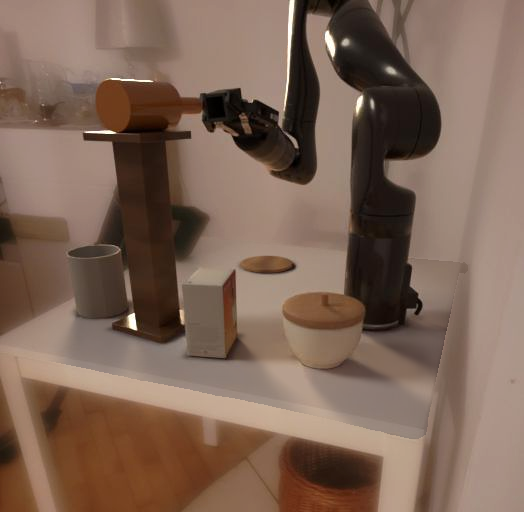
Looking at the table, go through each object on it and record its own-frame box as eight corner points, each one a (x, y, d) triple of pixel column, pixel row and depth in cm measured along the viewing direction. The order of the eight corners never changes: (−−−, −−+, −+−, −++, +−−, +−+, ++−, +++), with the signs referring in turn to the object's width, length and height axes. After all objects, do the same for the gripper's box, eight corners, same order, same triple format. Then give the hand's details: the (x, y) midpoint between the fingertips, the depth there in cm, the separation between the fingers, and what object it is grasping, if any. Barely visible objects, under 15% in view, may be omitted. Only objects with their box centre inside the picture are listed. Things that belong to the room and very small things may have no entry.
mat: (288, 257, 112) (288, 254, 111) (296, 271, 102) (296, 269, 102) (240, 259, 111) (239, 256, 110) (243, 273, 101) (243, 271, 101)
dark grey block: (222, 116, 81) (218, 89, 79) (244, 115, 80) (240, 87, 78) (206, 122, 77) (202, 94, 75) (228, 121, 76) (224, 92, 73)
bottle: (182, 127, 76) (179, 84, 74) (213, 128, 74) (211, 83, 71) (99, 132, 63) (91, 79, 61) (133, 133, 61) (127, 78, 58)
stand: (155, 308, 84) (136, 129, 71) (202, 320, 79) (191, 130, 67) (112, 329, 76) (82, 132, 63) (161, 343, 71) (139, 134, 59)
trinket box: (366, 378, 62) (373, 309, 58) (282, 377, 62) (283, 308, 58) (354, 341, 72) (359, 280, 67) (281, 341, 72) (281, 280, 68)
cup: (86, 300, 87) (76, 244, 83) (132, 299, 87) (125, 244, 83) (70, 318, 80) (58, 258, 75) (120, 318, 80) (112, 258, 75)
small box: (225, 359, 67) (222, 286, 62) (186, 356, 68) (180, 283, 63) (238, 335, 74) (236, 267, 69) (202, 332, 75) (198, 265, 70)
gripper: (228, 119, 93) (177, 77, 77) (298, 114, 87) (258, 67, 71) (225, 160, 93) (173, 126, 78) (294, 157, 88) (253, 120, 72)
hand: (214, 98), depth 75 cm, fingers closed on dark grey block, 4 cm apart
